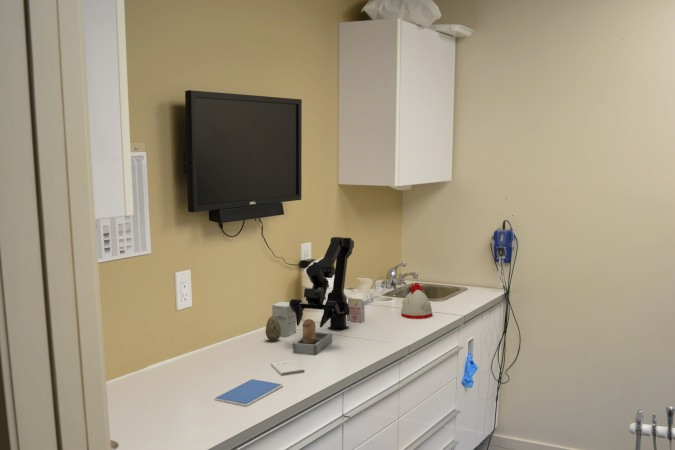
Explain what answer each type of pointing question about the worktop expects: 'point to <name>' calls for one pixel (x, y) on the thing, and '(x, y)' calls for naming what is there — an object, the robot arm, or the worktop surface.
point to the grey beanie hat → (416, 304)
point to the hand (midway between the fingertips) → (308, 326)
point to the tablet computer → (248, 392)
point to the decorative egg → (273, 329)
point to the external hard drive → (287, 367)
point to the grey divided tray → (321, 343)
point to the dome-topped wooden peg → (309, 332)
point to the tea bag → (356, 310)
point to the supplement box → (285, 318)
